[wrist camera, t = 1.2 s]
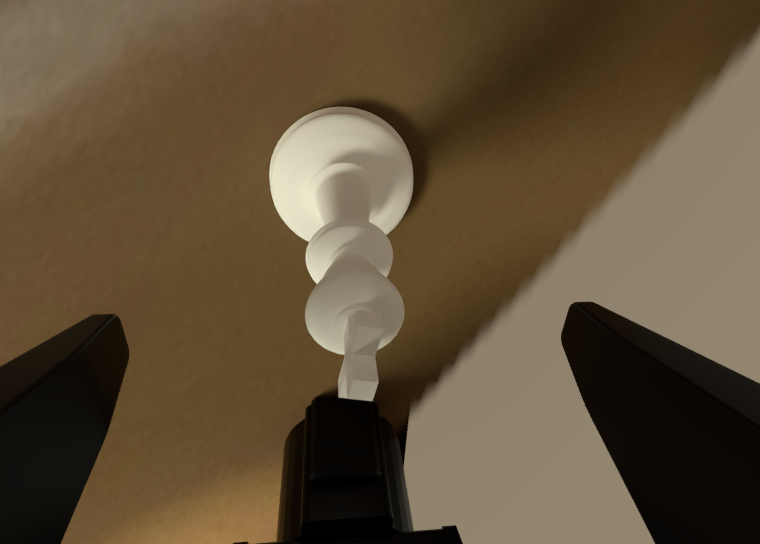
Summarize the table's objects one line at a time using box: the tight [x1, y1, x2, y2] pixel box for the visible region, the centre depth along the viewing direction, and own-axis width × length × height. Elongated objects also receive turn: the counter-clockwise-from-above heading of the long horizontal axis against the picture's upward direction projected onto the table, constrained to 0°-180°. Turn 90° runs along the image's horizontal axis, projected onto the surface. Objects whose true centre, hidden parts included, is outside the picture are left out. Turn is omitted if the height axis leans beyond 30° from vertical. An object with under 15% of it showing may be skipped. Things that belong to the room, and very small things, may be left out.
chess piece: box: [269, 107, 413, 401], centre depth 12 cm, size 5×5×10 cm
